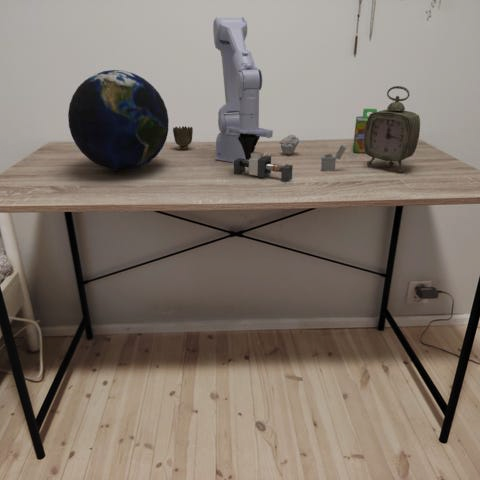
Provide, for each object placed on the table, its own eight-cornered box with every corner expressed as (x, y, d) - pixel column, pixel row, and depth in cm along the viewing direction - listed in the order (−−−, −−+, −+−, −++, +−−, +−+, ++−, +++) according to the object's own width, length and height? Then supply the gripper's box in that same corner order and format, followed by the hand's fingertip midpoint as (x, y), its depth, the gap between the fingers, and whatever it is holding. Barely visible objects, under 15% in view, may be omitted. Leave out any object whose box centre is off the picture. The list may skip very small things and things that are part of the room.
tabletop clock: (360, 166, 143) (370, 85, 132) (374, 160, 149) (384, 83, 138) (403, 175, 134) (417, 89, 123) (415, 168, 140) (429, 86, 129)
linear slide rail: (233, 173, 137) (233, 160, 135) (239, 170, 139) (239, 157, 138) (287, 182, 129) (287, 167, 127) (291, 178, 132) (292, 164, 130)
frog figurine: (298, 156, 154) (299, 137, 151) (278, 156, 155) (279, 136, 152) (298, 152, 160) (299, 133, 157) (279, 152, 161) (280, 132, 158)
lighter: (321, 171, 139) (323, 145, 135) (320, 169, 140) (322, 144, 137) (344, 171, 139) (346, 145, 135) (343, 169, 140) (345, 144, 137)
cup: (192, 151, 162) (191, 129, 158) (172, 151, 162) (171, 129, 159) (194, 146, 169) (193, 125, 165) (175, 146, 169) (174, 125, 165)
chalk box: (352, 153, 159) (357, 110, 152) (352, 147, 167) (356, 106, 160) (379, 154, 157) (384, 111, 151) (377, 148, 165) (383, 107, 159)
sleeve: (248, 174, 133) (249, 154, 131) (256, 170, 137) (256, 150, 134) (257, 175, 132) (258, 155, 129) (264, 171, 136) (265, 151, 133)
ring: (257, 176, 132) (257, 159, 130) (264, 172, 136) (265, 155, 134) (263, 177, 131) (263, 160, 129) (270, 172, 135) (271, 156, 133)
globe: (124, 152, 161) (114, 65, 148) (190, 164, 147) (185, 68, 134) (56, 173, 138) (36, 72, 125) (126, 189, 124) (112, 76, 111)
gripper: (220, 113, 128) (221, 159, 134) (265, 117, 122) (264, 165, 128) (232, 110, 134) (233, 153, 140) (276, 113, 127) (274, 159, 133)
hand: (248, 159), depth 134 cm, fingers closed
